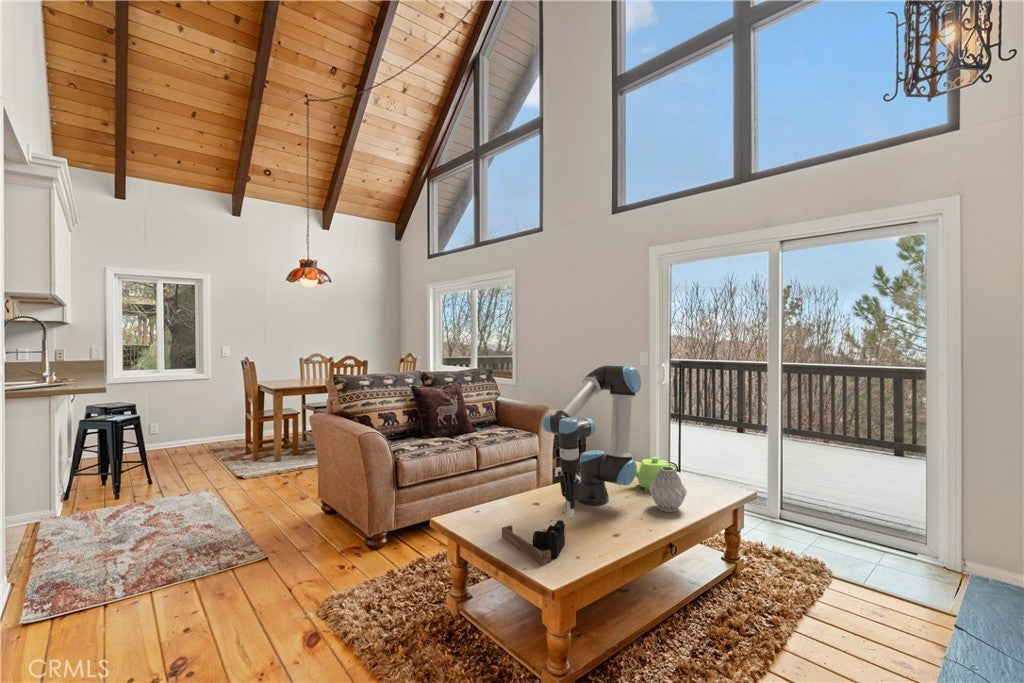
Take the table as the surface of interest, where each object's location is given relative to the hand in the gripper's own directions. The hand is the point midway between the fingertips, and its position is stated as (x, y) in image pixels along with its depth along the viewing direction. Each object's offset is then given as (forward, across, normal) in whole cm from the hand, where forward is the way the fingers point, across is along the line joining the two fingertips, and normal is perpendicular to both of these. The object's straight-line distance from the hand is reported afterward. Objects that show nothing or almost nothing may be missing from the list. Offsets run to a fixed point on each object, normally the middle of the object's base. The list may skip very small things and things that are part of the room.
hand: (570, 515), depth 187 cm
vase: (+9, +4, +53) cm, 54 cm away
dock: (+7, 0, -22) cm, 23 cm away
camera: (+7, +5, -15) cm, 18 cm away
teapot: (+10, -21, +71) cm, 75 cm away
